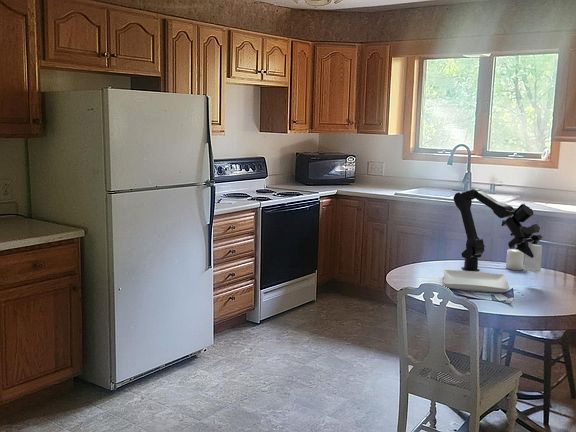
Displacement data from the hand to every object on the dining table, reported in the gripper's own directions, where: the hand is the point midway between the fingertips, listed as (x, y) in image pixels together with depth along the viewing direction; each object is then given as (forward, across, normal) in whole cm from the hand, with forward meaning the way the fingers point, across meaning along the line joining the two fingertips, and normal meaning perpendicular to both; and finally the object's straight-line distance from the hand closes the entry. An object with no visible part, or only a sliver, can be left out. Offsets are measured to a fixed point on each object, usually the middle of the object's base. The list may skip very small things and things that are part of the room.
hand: (535, 256), depth 265 cm
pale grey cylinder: (-8, +24, +28) cm, 38 cm away
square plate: (0, -23, +20) cm, 30 cm away
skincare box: (+4, 0, +6) cm, 7 cm away
